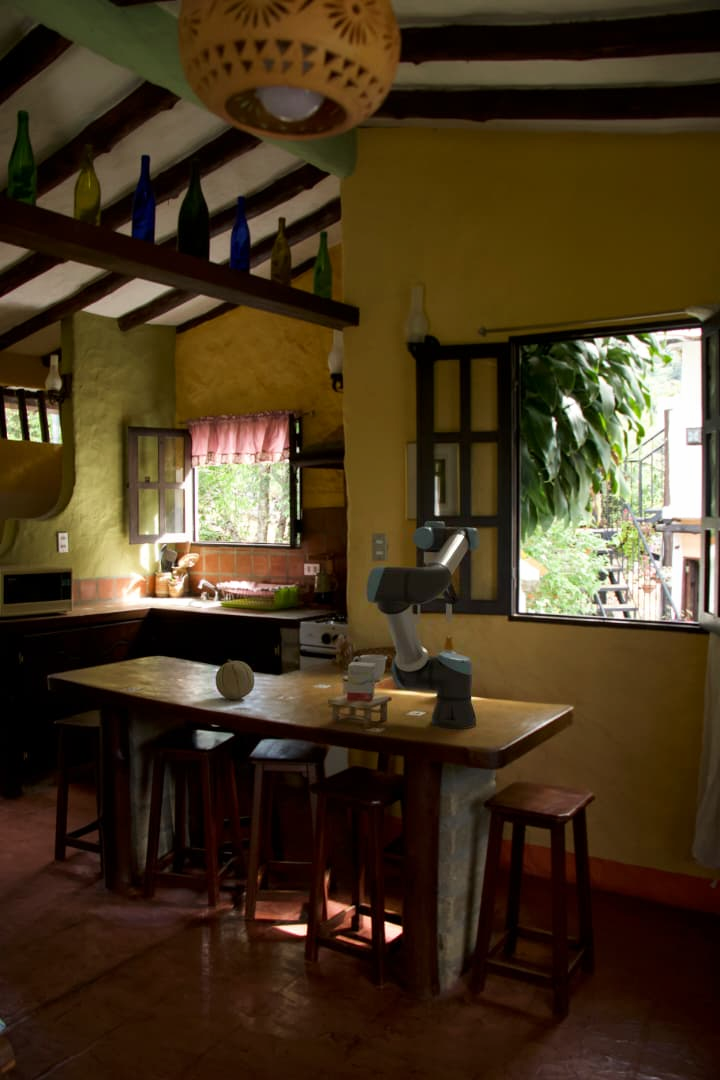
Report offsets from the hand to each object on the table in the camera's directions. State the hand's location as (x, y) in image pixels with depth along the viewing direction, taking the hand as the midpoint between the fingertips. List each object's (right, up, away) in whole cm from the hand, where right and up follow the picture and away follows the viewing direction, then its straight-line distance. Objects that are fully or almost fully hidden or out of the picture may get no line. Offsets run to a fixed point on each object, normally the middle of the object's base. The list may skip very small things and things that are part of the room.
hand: (433, 622), depth 321 cm
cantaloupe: (-74, -30, +13) cm, 81 cm away
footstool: (-27, -32, -21) cm, 46 cm away
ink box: (-26, -24, -21) cm, 41 cm away
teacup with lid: (-28, -31, +14) cm, 44 cm away
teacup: (-22, -30, +59) cm, 70 cm away
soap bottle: (+8, -32, +25) cm, 41 cm away
